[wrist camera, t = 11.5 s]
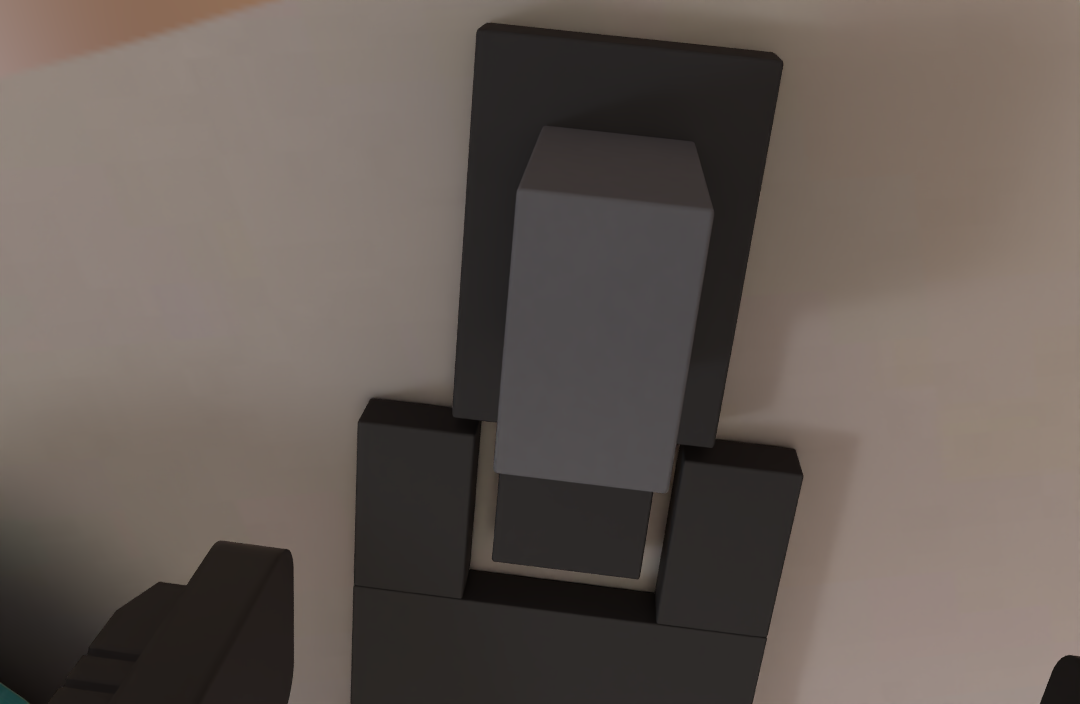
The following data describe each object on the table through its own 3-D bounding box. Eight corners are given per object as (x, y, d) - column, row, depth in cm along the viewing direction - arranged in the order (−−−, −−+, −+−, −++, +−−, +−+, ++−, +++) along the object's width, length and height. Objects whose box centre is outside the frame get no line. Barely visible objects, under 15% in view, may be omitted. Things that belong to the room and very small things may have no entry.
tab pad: (484, 21, 25) (428, 64, 18) (776, 52, 24) (833, 107, 18) (450, 526, 30) (398, 706, 24) (686, 555, 30) (703, 745, 23)
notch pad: (369, 397, 29) (356, 421, 28) (796, 448, 28) (804, 475, 27) (359, 768, 35) (347, 804, 33) (714, 816, 34) (718, 854, 33)
